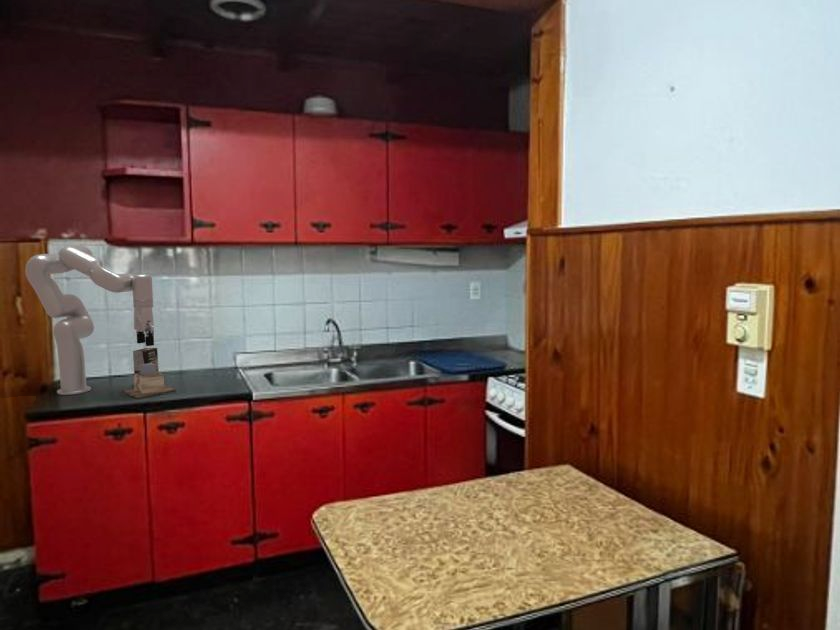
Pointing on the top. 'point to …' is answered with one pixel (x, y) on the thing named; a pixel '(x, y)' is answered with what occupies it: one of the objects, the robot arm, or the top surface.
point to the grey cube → (147, 369)
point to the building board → (139, 395)
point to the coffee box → (145, 358)
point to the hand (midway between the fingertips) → (145, 344)
